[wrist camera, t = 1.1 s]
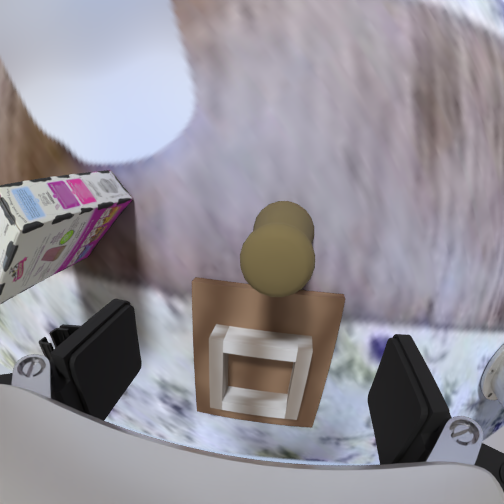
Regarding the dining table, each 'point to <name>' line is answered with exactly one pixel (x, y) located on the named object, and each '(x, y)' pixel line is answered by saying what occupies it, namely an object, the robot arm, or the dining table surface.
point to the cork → (279, 250)
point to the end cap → (57, 338)
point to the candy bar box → (53, 225)
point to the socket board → (262, 351)
